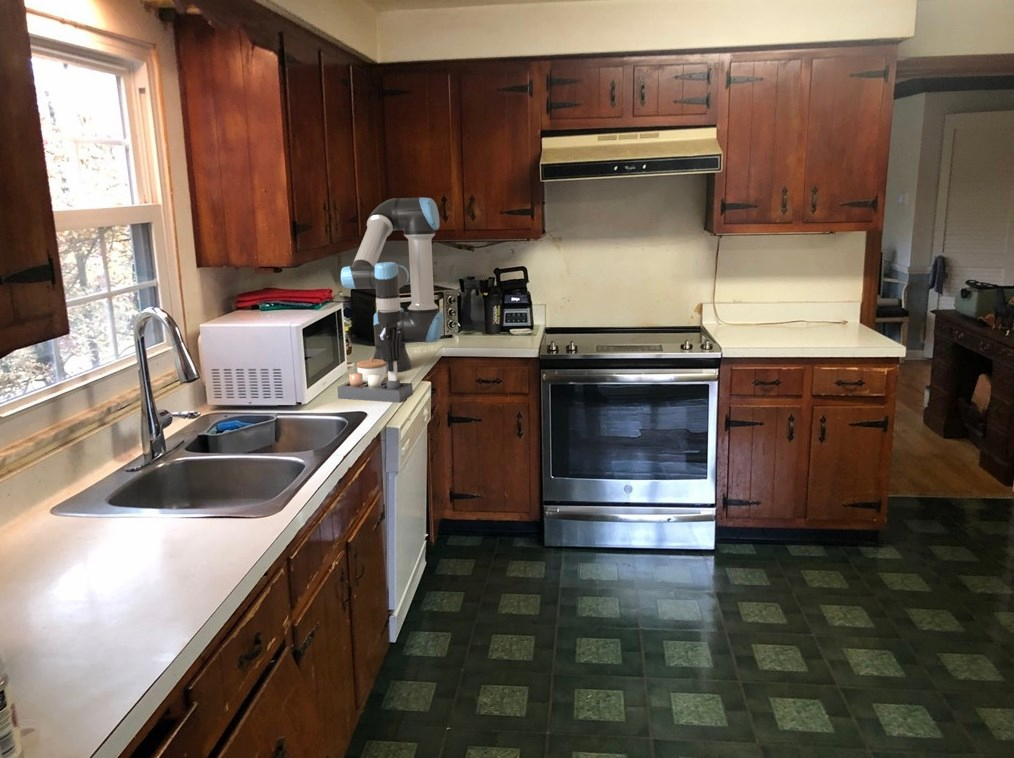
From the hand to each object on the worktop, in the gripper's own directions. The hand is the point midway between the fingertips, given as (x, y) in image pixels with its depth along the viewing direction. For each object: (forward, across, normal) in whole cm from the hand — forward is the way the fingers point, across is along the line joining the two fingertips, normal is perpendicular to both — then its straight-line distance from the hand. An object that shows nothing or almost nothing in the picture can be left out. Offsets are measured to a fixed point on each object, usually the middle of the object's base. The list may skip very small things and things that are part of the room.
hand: (393, 380), depth 264 cm
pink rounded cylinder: (+4, 0, -14) cm, 14 cm away
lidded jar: (+6, -17, -17) cm, 25 cm away
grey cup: (+5, 0, 0) cm, 5 cm away
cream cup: (+4, 0, -7) cm, 8 cm away
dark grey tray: (+6, 0, -7) cm, 9 cm away
